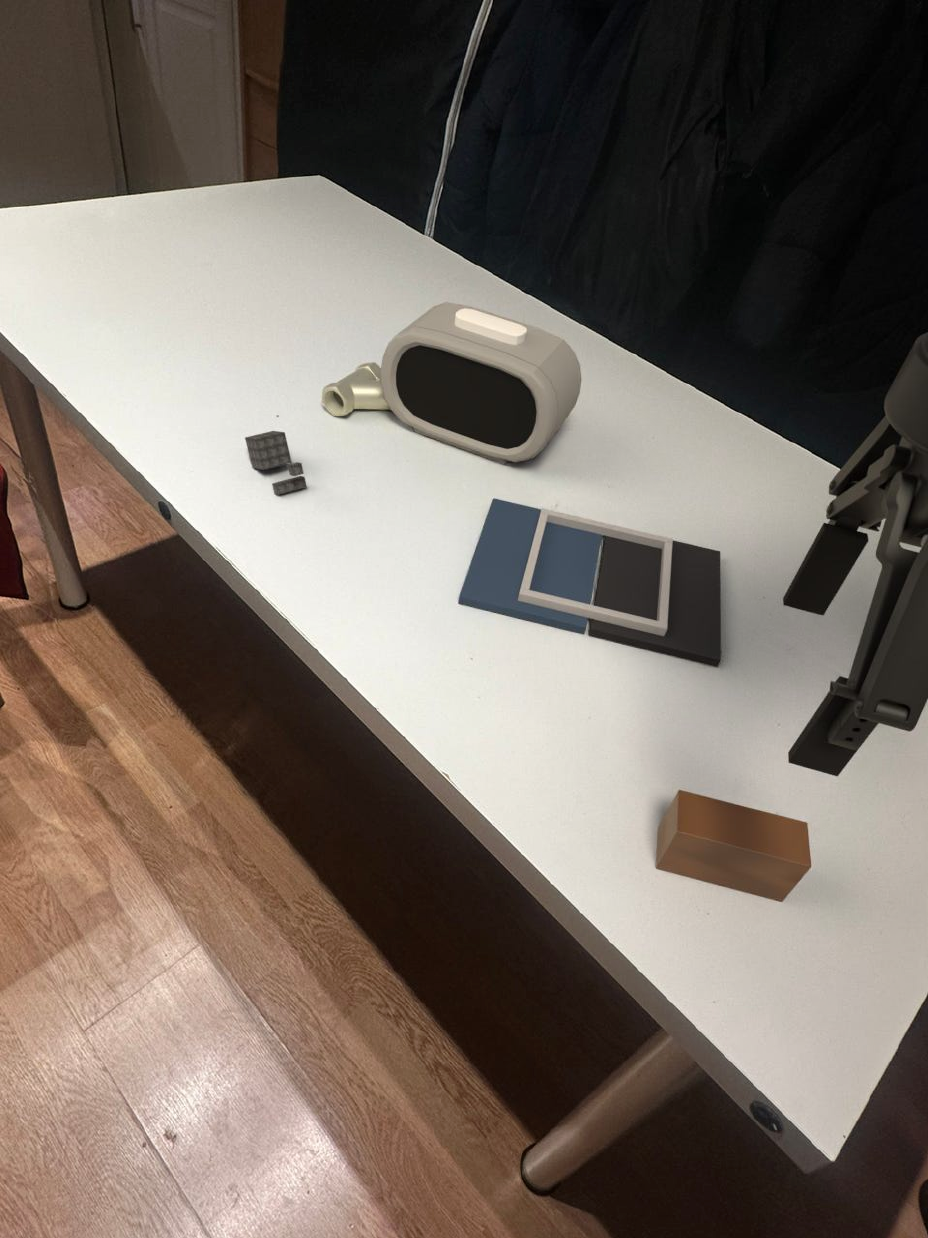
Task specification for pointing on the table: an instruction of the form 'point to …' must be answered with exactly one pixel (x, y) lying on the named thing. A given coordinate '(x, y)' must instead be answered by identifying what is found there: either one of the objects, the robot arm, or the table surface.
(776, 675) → the table surface
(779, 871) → the brown rectangular block
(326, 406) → the pipe fitting
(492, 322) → the alarm clock
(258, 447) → the building blocks
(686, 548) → the back pads
